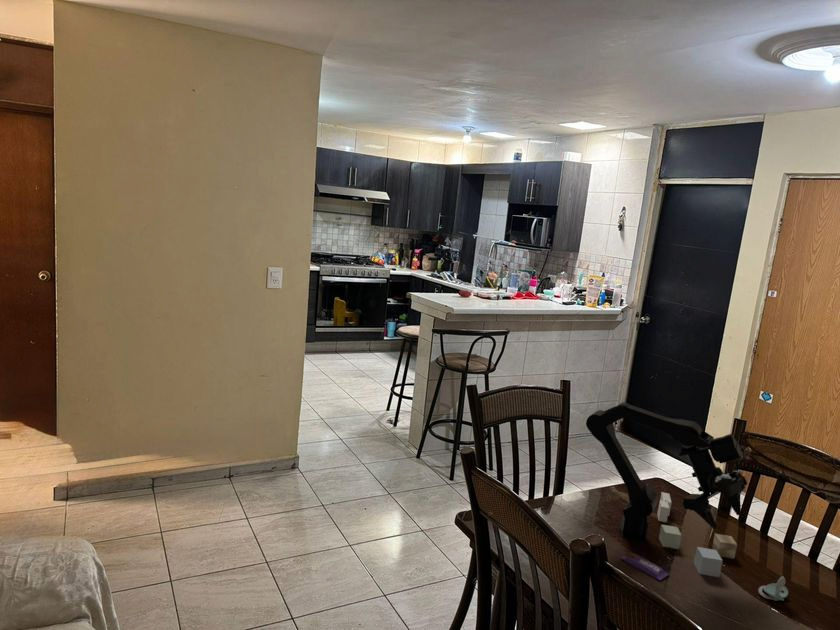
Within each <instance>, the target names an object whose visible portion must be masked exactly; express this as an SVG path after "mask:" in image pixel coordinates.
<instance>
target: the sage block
mask: <svg viewBox="0 0 840 630" xmlns="http://www.w3.org/2000/svg"><path fill="white" fill-rule="evenodd" d="M659 529H660V530H659V536H658V540H659V542H660V544H661V546H662V547H664V548H669V547H670V548H669V549H674V550H675V549H676V550H679V549H680V545H681V542H682V541H681V540H682V532H681V531H680V530H679V528H678V527H677V526H673V525H668V524H667V525H666V524H661V525H660V528H659Z"/></svg>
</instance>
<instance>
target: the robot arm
mask: <svg viewBox="0 0 840 630" xmlns="http://www.w3.org/2000/svg"><path fill="white" fill-rule="evenodd" d="M622 419H625V420H628V421H630V422H632V423H636V424H638V425H642V426H645V427H646V428H649V429H652V430H654V431H659V432H661V433H663V434H665V435H667V436H668V437H669V438H671V439H672V440H674V441H675V442H677V443H679V444H681V448H680V451H679V453H678V456H679V457H683V456H686V457H687V458H688V461H689V464H690V466H691V467H692V468H691V469H692V470H693V472H692V473H691V476H692V477H693V478H696V480H697V482H698V484H699V487H697V490H698V492H702V493H691V494H689V495H687V496H685V497H683V498H682V501H681V503H682V505H683V508H684V510H689V511H693V512H695V513H696V514H697V515H698V516H699V517H700V518H702V519H703V521H704V522H706V524H708V525H709V526H710V527H711V528H712V529H713V530H717V529H718V527H717V523H716V521H715V518H714V516H713V514H712V512H711V510H712V508H713V507H712V506H713V505H710V500H709V499H711V498H713V497H715V496H716V495H719V494H723V495H724V496H725V498H726V499H727V501H728V504H729V505H730V506H731V508H732V510H733V512H734V513H735V514H736V516H738V517H740V516H741V515H742V509H741V507H742V506H741V494H742V492H743V491H744V490H745V489H746V486H747V485H748V481H747V479H746V477H745V476H743V475H742V473H741V472H740V471H739V470H733V471H731V472H730V473H727V474H725V473H724V472H723V470H722V469H721V468H720V467H718V466H716V464H715V462H714V461H716V463H719V464H725V463H730V462H735V461H739V460H743V459H744V456H743V455H744V454H743V452H742V449H741V446H740V444H739V443H738V441H737V439H736V438H734V435H733V434H732V433H730V434H729V433H728V434H726V435H724V436H723V435H722V436H720V437H716V438H714V436H712V435H711V434H710V433H708V432H707V431H705V430H703V428H702V427H701V426H700V424H699V422H698V423H697V422H696V421H693V420H687V419H683V418H669V417H667V416H664V415H661V414H658V413H655V412H652V411H649V410H647V409H645V408H644V409H643V408H640V407H638V406H635V405H631V404H629V402H625V401H623V402H620V403H619V404H618V405H616V406H613V407H610V408H608V409H606V410H601V409H599V410H596V411H594V412H593V413H592V414H590V415H589V416H588V417H587V418H586V421H585V426H586V428H587V430H588V432H590V434H591V435H592V436H593V438H595V439H596V440H597V441H598V442H600V444H602V446H603V448H604V450H605V451H606V454H607V455H608V456H609V458H610V460H611V461H612V464H613V466H614V467H615V469H616V471H617V472H618V475H619V476H620V478H621V480H622V482H623V483H624V485H625V487H626V489H627V494H628V500H629V501H628V503H627V504H626V505H625V506H624V508H623V509H622V513H623V514H622V518H621V523H620V524H619V530H620V532H621V535H622V537H623V538H627V539H632V540H636V541H643V542H644V541H646V539H647V538H646V537H647V536H648V535H647V534H648V529H649V521H648V517H650V516H651V515H652V514H653V512H654V510H655V508H656V507H657V505H658V498H657V496H658V493H657V492H656V491H655V490H654V489H653V486H652V483H651V482H648V483H645V482H644V481H642V480H641V478H640V477H639V475H638V473H637V471H636V469H635V468H634V466H633V465H632V464H633V463H632V462H631V461H630V459H629V457H628V456H627V454H626V452H625V450H624V448H623V446H622V445H621V444H620V443H621V442H620V441H619V440H618V438H617V435H616V430H615V425H614V423H616V422H618V421H620V420H622Z"/></svg>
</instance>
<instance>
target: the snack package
mask: <svg viewBox="0 0 840 630" xmlns="http://www.w3.org/2000/svg"><path fill="white" fill-rule="evenodd" d="M620 559H621V560H623V561H624V562H626V563H628V564H629V565H631V566H633V567H635V568H636V569H638V570H640V571H642V572H643V573H645V574H647V575H649V576H650V577H652V578H653V579H656V580H658V581H662V580H663V579H665V578H667V576H669V574H670V573H668V572H666V571H665V570H664V568H662V567H660V566H659V565H658V564H655V563H653V562H651V561H650V560H648V559H646V558H644V557H643V556H641V555H639V554H637V553H632V552H627V553H626V554H624V555H622V556H621V557H620Z"/></svg>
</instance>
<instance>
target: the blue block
mask: <svg viewBox="0 0 840 630" xmlns="http://www.w3.org/2000/svg"><path fill="white" fill-rule="evenodd" d="M693 564H694V566H695V568H696V570H697V571H698V573H699V575H705V576H710V577H716V578H720V575H721V570H722V566H723V559H722V557H721V556H720V555H719V554H718V552H717V551H716V550H713V548H707V547H701V546H696V551H695V555H694V561H693Z"/></svg>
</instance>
